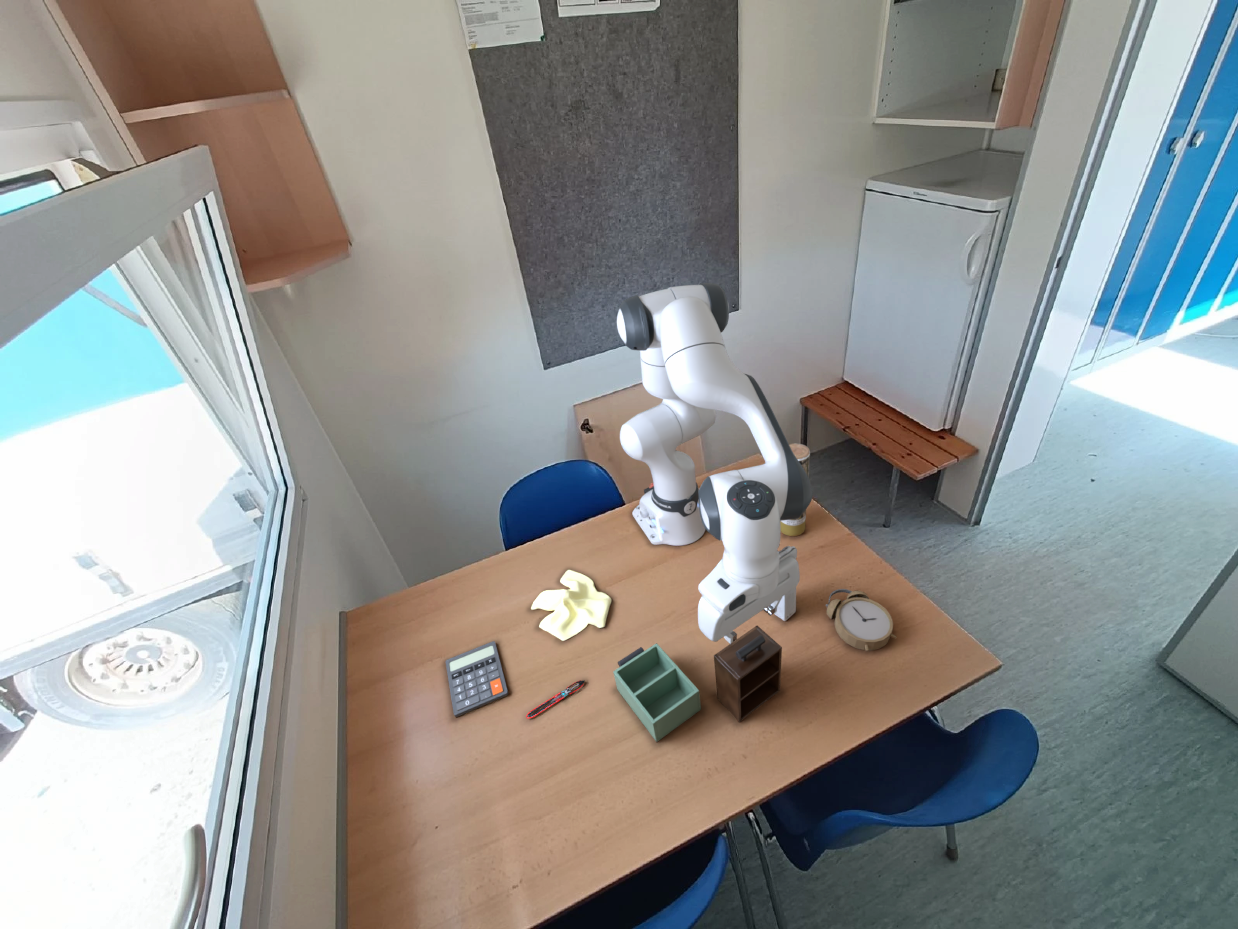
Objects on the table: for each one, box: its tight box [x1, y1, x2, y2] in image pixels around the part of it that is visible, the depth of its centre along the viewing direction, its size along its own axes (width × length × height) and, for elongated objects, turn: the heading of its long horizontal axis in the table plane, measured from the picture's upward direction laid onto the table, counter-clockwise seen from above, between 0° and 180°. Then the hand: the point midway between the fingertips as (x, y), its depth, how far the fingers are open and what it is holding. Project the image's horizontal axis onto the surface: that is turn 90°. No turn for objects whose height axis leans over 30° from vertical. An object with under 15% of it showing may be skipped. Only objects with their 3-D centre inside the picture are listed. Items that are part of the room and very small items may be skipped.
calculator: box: [445, 640, 509, 718], centre depth 125 cm, size 12×1×15 cm
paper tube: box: [780, 442, 811, 537], centre depth 142 cm, size 7×7×25 cm
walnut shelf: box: [713, 625, 783, 723], centre depth 108 cm, size 17×11×6 cm
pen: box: [525, 679, 586, 719], centre depth 118 cm, size 2×14×1 cm, turn 122°
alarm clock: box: [825, 588, 897, 652], centre depth 122 cm, size 11×5×15 cm
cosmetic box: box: [773, 586, 797, 622], centre depth 125 cm, size 6×4×12 cm
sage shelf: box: [612, 643, 702, 743], centre depth 114 cm, size 17×11×6 cm, turn 33°
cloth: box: [530, 569, 612, 642], centre depth 137 cm, size 22×19×6 cm
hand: (750, 625), depth 100 cm, fingers open, 8 cm apart
